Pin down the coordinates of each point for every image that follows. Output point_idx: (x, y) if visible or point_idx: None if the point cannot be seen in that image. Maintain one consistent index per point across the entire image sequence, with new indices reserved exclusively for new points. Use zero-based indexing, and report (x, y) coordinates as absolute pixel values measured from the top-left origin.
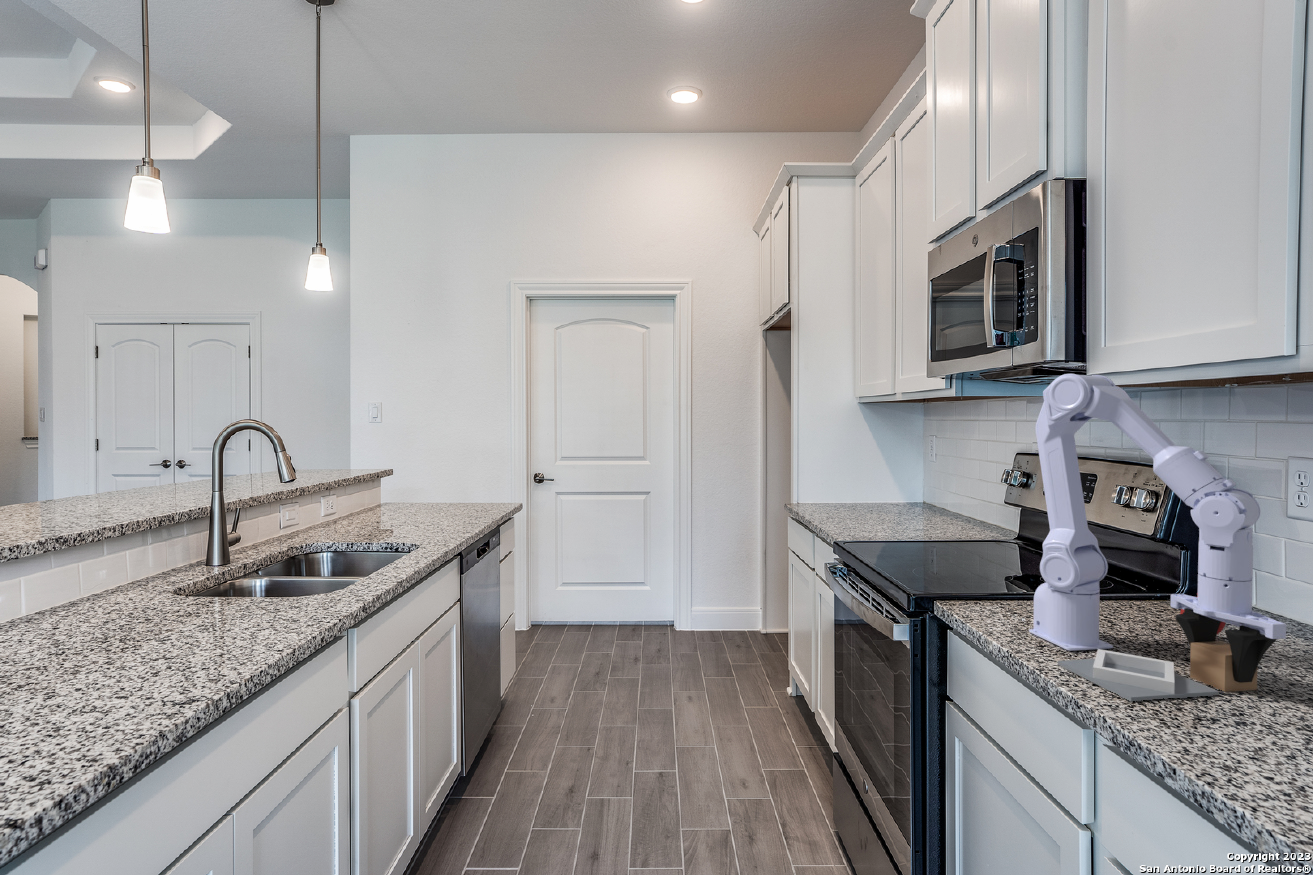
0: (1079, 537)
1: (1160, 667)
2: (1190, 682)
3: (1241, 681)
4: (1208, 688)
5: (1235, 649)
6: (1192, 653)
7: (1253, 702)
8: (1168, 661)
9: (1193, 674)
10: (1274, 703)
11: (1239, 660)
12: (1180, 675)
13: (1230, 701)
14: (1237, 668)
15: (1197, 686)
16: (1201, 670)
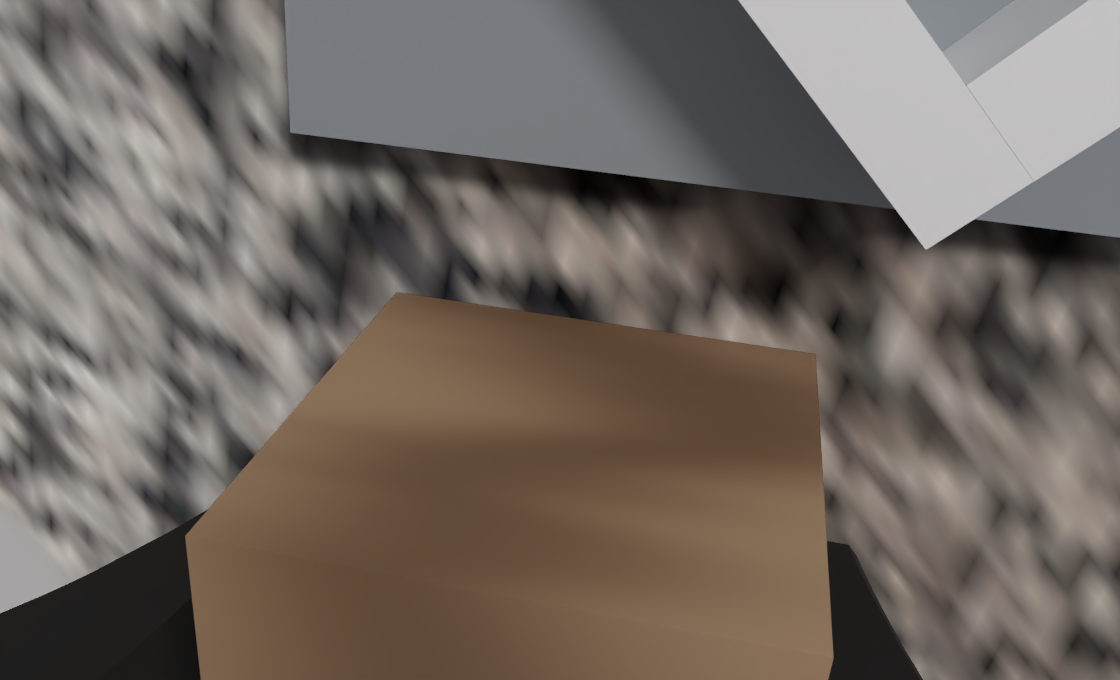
0: None
1: (1001, 29)
2: (574, 69)
3: None
4: (376, 99)
5: (11, 668)
6: (790, 533)
7: (145, 291)
8: (984, 206)
9: (771, 373)
10: (121, 439)
11: (94, 575)
12: (794, 180)
13: (176, 92)
14: (203, 513)
15: (452, 28)
16: (654, 401)
